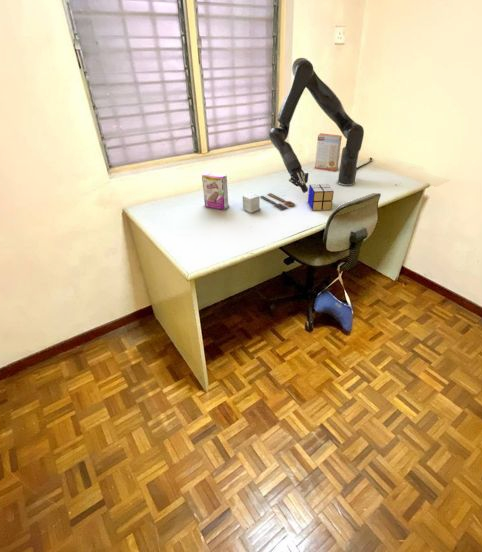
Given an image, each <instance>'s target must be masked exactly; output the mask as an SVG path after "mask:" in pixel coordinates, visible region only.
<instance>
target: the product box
mask: <svg viewBox="0 0 482 552" xmlns="http://www.w3.org/2000/svg"><path fill="white" fill-rule="evenodd" d="M260 204H261V203H260V195H258V194H255V193H253V192H249V193H246V194H244V195H242V210H244V211H246V212H248V213H250V214H252V213H254V212H256V211H260V209H261V208H260V207H261V205H260Z"/></svg>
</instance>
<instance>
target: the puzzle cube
mask: <svg viewBox="0 0 482 552" xmlns="http://www.w3.org/2000/svg"><path fill="white" fill-rule="evenodd" d="M333 200H334V190H333V188H332V187H331V186H330V184H329V183H313V184H312V183H311V184H309V185H308V197H307V204H308V205H309V207H310V210H311V211H331V210H332V208H333Z"/></svg>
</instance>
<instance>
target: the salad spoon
mask: <svg viewBox="0 0 482 552" xmlns="http://www.w3.org/2000/svg"><path fill="white" fill-rule="evenodd" d="M267 195H268V196H269V197H271V198H273V199H275V200H277V201H279V202H280V203H283V206H285V207H287V208H293V207H295V203H294V202H293V201H290V200H285V199H284V198H281V197H279V196H277V195H275V194H273V193H268V194H267Z"/></svg>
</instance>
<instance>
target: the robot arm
mask: <svg viewBox="0 0 482 552" xmlns="http://www.w3.org/2000/svg"><path fill="white" fill-rule="evenodd" d="M291 71H292V76H293V80H292V84H291V87H290V89H289V91H288V94H287V95H286V97H285V99H284V100H283V102H282V105H281V106H280V110H279V112H278V115H277V122H278V123H279V125H278V127H272V128H270V129H269V132H268V138H269V141H270V142H271V143H272V145H273V146H274V147H275V149H276V150H277V151H278V153H279V155H280V157H281V159H282V162H283V164H284V167H285V168H286V170H287V172H288V174H289V176H290V177H289V179H288V182H290V183H291V184H292V185H293V186H295V187H297V188H298V187H299V188H300V189H301V192H302V193H304V194H306V193H308V192H309V188H308V186H307V185H306V184H307V183H308V181H309V172H305V171H304V170H303V169H302V165H301V162H300V161H299V158H298V155H296V153H295V151H294V149H293V147H292V145H291V144H290V143H289V141H286V140H287V139H288V135H289V133H290V132H289V131H290V127H291V126H290V125H291V122H292V119H293V117H294V113H295V112H296V109H297V106H298V103H299V102H300V100H301V97H302V95H303V94H304V92H305V90H306V89H307V90H308V92H309V94H310V95H311V97H312V98H313V99H314V101H315V102H316V104H317V106H318V107H319V109H321V110H322V111H323V113H324V114H325V115H326V116H327V117H328V118H329V119H330V120H331V121H332V122H334V124H335V125H336V126H337V128H338V129H339V131H340V132H341V134H342V136H343V137H344V138H345V139H346V142H345V146H343V147H342V150H341V156H340V157H341V158H340V163H339V165H340V166H339V170H338V171H339V172H338V177H337V178H338V179H337V184H338V185H340V186H344V187H350V186H354V184H355V183H356V176H357V170H359V169H360V168H362V167H364V166H366V165H369V164H370V163H371V162H372V160H373V159H372V158H371V157H370V158H369V159H370V160H369V161H368V162H366V163H364V164H361V165H359V166H358V160H359V153H360V152H361V149H362V145H363V141H364V135H365V129H364V127H363V126H362V125H361V124H359V123H358V122H356V121H355V120H353V118H351V116H349V115H348V113H347V112H346V110H345V108H344V106H343V103H342V101H341V100H340V98H339V97H338V96H337V94H336V93H335V92H334V91H333V90H332V89H331V88H330V87H329V85H328V84H327V83H325V82H324V81H323V80H322V79H321V78H320V77H319V76H318V74H317V73H316V71H315V70H314V66H313V64H312V62H311V61H310V60H309V59H307V58H305V57H298V58H296V59H295V60H294V61H293V63H292V67H291ZM357 166H358V167H357Z"/></svg>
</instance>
